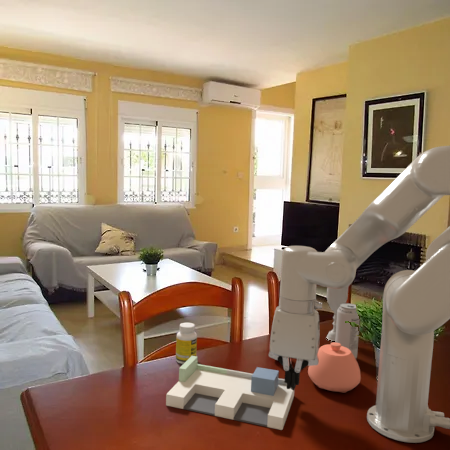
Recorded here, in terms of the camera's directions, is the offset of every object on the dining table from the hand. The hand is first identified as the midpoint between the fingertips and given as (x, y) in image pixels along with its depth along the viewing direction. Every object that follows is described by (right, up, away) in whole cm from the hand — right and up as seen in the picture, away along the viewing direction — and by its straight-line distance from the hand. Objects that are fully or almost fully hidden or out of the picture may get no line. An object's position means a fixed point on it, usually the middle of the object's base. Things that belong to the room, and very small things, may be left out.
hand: (291, 386), depth 94 cm
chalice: (+19, 0, +40) cm, 45 cm away
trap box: (-13, -4, +1) cm, 13 cm away
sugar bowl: (+12, -4, +11) cm, 17 cm away
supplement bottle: (-25, -1, +21) cm, 33 cm away
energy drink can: (+19, -2, +26) cm, 32 cm away
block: (-6, -1, +2) cm, 6 cm away
